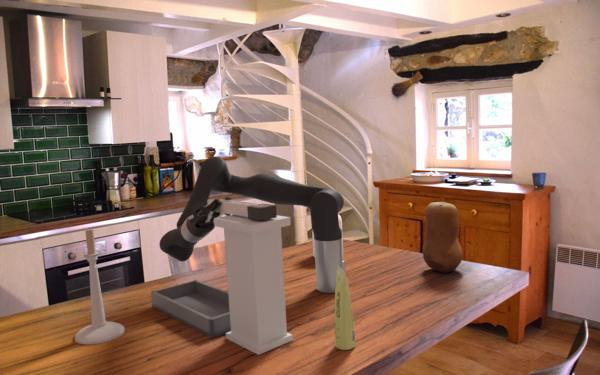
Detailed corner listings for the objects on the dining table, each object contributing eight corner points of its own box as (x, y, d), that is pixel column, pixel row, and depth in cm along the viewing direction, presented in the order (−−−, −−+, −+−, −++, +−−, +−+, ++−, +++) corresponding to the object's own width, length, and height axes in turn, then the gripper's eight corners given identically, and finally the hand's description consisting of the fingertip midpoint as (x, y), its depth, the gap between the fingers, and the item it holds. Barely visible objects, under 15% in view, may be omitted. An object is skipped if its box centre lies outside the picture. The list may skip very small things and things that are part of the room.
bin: (152, 307, 158) (151, 291, 158) (197, 294, 169) (195, 279, 168) (211, 338, 132) (210, 320, 131) (260, 320, 143) (259, 303, 142)
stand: (222, 338, 132) (213, 218, 128) (258, 324, 140) (251, 211, 136) (259, 356, 120) (250, 225, 116) (296, 340, 128) (290, 217, 124)
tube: (329, 346, 123) (325, 269, 121) (341, 339, 127) (337, 264, 125) (348, 352, 120) (344, 273, 117) (359, 345, 124) (356, 268, 121)
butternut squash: (466, 268, 182) (466, 200, 179) (456, 278, 171) (455, 206, 168) (429, 264, 190) (428, 198, 187) (417, 273, 178) (415, 204, 175)
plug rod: (205, 210, 138) (204, 200, 137) (220, 208, 141) (219, 197, 141) (260, 220, 119) (259, 208, 119) (276, 217, 122) (276, 205, 122)
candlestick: (112, 321, 148) (102, 221, 144) (132, 332, 138) (122, 226, 135) (67, 335, 139) (55, 229, 135) (86, 348, 130) (73, 235, 126)
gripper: (172, 218, 143) (196, 191, 131) (214, 210, 152) (240, 185, 140) (180, 242, 141) (206, 217, 129) (222, 233, 150) (250, 209, 138)
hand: (224, 200), depth 134 cm, fingers closed on plug rod, 3 cm apart
